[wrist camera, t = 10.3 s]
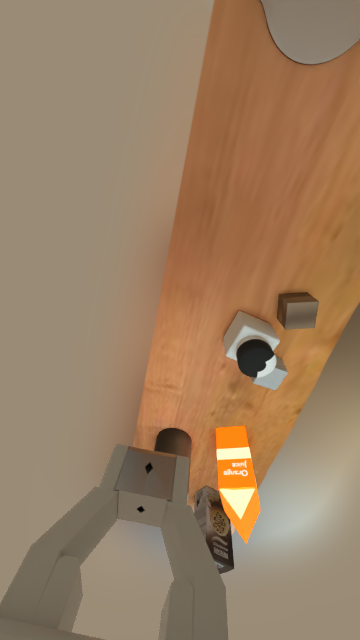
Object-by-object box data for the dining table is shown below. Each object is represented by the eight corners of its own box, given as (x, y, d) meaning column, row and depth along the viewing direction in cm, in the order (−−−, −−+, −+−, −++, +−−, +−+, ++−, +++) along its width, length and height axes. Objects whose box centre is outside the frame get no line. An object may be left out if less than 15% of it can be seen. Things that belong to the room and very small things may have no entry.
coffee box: (229, 497, 72) (235, 569, 57) (216, 505, 75) (219, 576, 60) (206, 484, 70) (207, 555, 56) (193, 493, 73) (191, 563, 58)
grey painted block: (259, 350, 49) (264, 364, 45) (280, 357, 49) (288, 372, 45) (248, 368, 51) (253, 383, 47) (269, 375, 51) (275, 390, 47)
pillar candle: (154, 427, 62) (140, 488, 49) (190, 427, 61) (185, 489, 47) (160, 451, 66) (148, 512, 53) (193, 451, 65) (190, 515, 51)
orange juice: (245, 425, 58) (263, 520, 40) (249, 448, 62) (267, 545, 44) (214, 428, 60) (219, 520, 42) (220, 450, 63) (226, 544, 45)
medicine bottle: (222, 337, 49) (227, 373, 38) (238, 309, 46) (249, 339, 35) (252, 350, 49) (265, 389, 38) (270, 323, 46) (290, 356, 35)
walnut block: (278, 293, 43) (287, 303, 39) (306, 292, 43) (318, 301, 38) (276, 317, 46) (284, 329, 41) (303, 316, 45) (314, 328, 40)
